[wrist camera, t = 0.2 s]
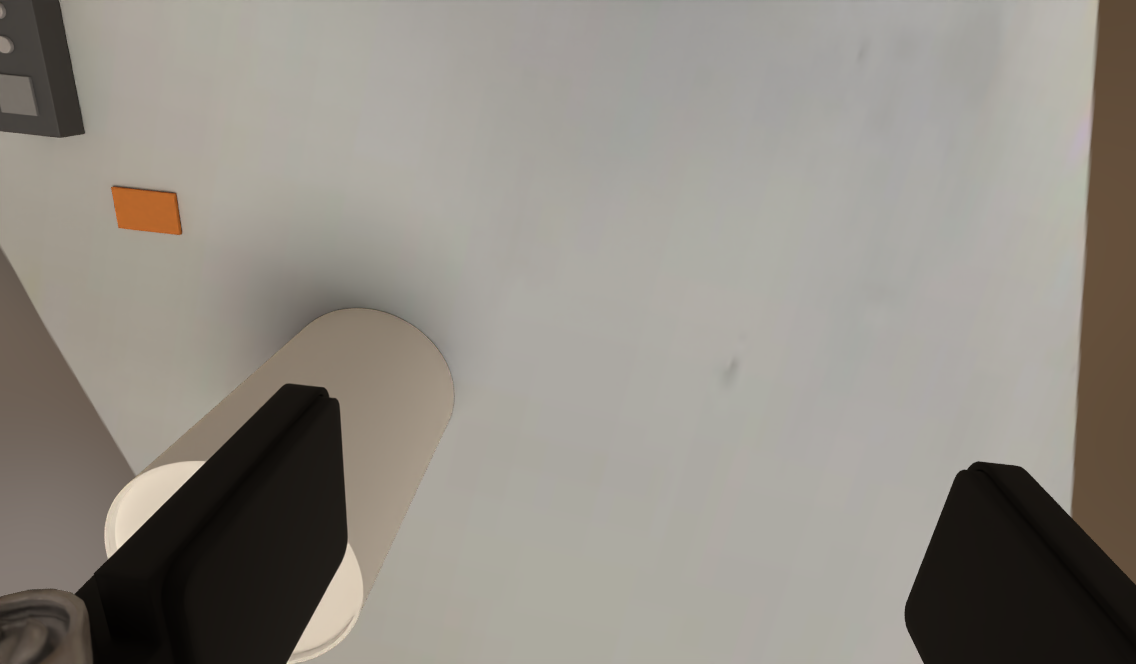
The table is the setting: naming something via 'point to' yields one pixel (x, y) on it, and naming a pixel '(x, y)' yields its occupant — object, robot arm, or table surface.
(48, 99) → the remote
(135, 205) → the tiles
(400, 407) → the canister
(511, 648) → the table surface
